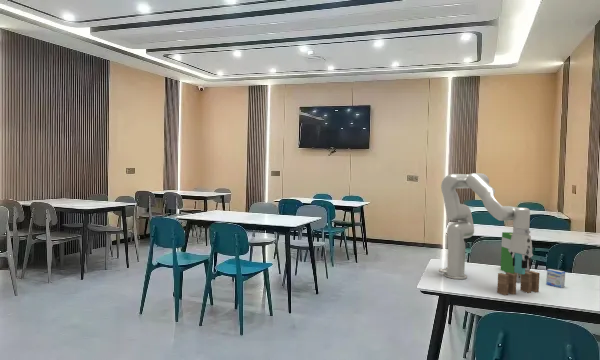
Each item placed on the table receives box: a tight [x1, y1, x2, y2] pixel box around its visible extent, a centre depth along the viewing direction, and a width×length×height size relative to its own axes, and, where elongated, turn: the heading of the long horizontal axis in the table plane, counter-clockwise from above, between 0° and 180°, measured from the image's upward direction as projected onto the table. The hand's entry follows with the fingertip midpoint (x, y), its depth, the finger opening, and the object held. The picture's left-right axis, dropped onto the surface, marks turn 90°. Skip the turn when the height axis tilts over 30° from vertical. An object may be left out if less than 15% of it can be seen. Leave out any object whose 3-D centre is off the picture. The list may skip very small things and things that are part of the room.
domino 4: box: [529, 270, 541, 293], centre depth 231 cm, size 2×5×10 cm, turn 20°
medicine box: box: [545, 268, 566, 289], centre depth 244 cm, size 8×4×9 cm, turn 36°
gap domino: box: [514, 253, 526, 274], centre depth 227 cm, size 2×5×10 cm, turn 20°
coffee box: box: [514, 254, 532, 284], centre depth 251 cm, size 9×6×16 cm
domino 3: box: [519, 272, 532, 294], centre depth 229 cm, size 2×5×10 cm, turn 20°
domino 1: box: [496, 272, 509, 296], centre depth 224 cm, size 2×5×10 cm, turn 21°
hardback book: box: [500, 231, 514, 274], centre depth 271 cm, size 18×7×24 cm, turn 3°
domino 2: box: [505, 272, 517, 295], centre depth 226 cm, size 2×5×10 cm, turn 21°
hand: (519, 266), depth 227 cm, fingers closed on gap domino, 4 cm apart
